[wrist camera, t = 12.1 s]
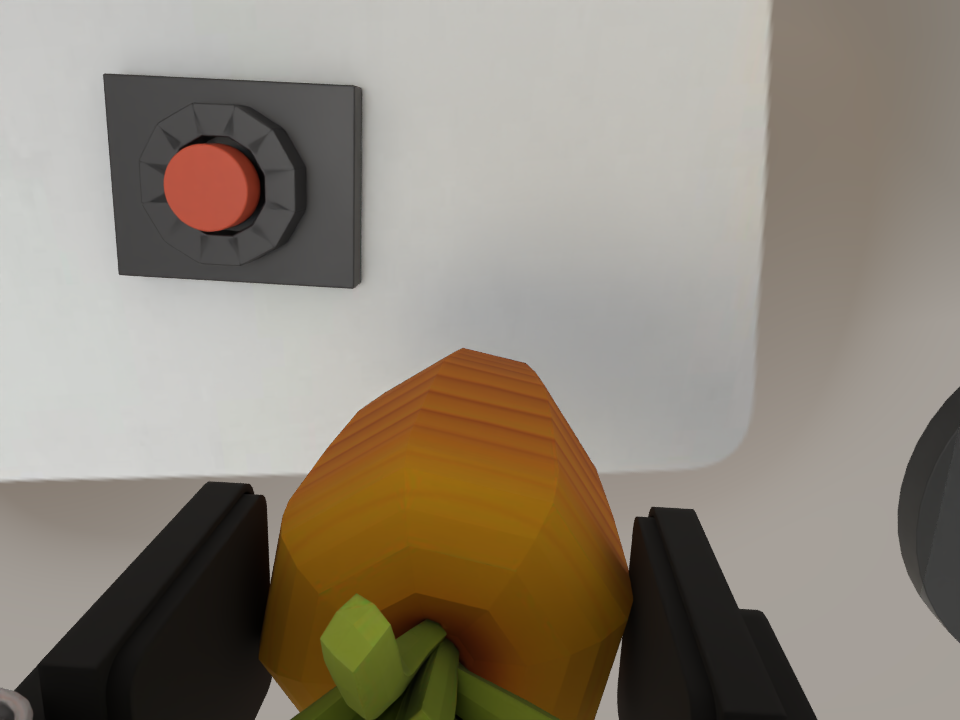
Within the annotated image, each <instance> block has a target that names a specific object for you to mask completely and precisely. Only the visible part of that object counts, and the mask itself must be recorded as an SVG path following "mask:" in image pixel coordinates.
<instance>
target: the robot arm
mask: <svg viewBox="0 0 960 720" xmlns="http://www.w3.org/2000/svg"><path fill="white" fill-rule="evenodd" d="M629 577H630V581H631V587H632V594H633V603H632V607H631V610H630V614H629V617H628V621H627V624H626V627H625V630H624V633H623V636H622V647H621V657H620V667H619V678H618V690H617V691H618V692H617V704H618V716H619V720H817V718H816V716H815V714H814V712H813V710H812V708H811V706H810V704H809V702H808V700H807V698H806V696H805V694H804V692H803V690H802V688H801V686H800V684H799V682H798V680H797V678H796V676H795V674H794V672H793V670H792V668H791V666H790V664H789V662H788V660H787V658H786V656H785V654H784V652H783V650H782V648H781V646H780V644H779V642H778V640H777V638H776V636H775V634H774V632H773V630H772V628H771V626H770V624H769V621H768V619H767V618H766V616H765V615H764V614H763V612H761V611H758V610H749V609H748V610H747V609H739V608H738V606H737V604H736V601H735V599H734V597H733V595H732V593H731V591H730V588H729V586H728V584H727V582H726V579H725V577H724V575H723V573H722V570H721V568H720V566H719V564H718V562H717V559H716V557H715V555H714V553H713V550H712V548H711V546H710V544H709V541H708V539H707V537H706V535H705V532H704V530H703V528H702V526H701V524H700V521H699V519H698V517H697V515H696V512H695V511H694V510H693V509H679V508H663V507H651V509H650V512H649V516H648V517H636V518H635V520H634V526H633V534H632V545H631V555H630V565H629ZM269 588H270V570H269V546H268V522H267V504H266V499H265V497H264V496H263V495H254V491H253V488H252V487H251V485H250V484H244V483H227V482H207V483H206V484H205V485H204V486H203V487H202V488H201V489H200V490H199V491H198V492H197V494H195V495H194V496H193V498H192V499H191V500H190V501H189V502H188V503H187V504H186V505H185V506H184V507H183V508H182V509H181V511H180V512H179V513H178V514H177V515H176V516H175V517H174V518H173V519H172V520H171V521H170V522H169V523H168V525H167V526H166V527H165V528H164V529H163V530H162V531H161V532H160V533H159V534H158V535H157V536H156V538H155V539H154V540H153V541H152V542H151V543H150V544H149V545H148V546H147V547H146V548H145V549H144V551H143V552H142V553H141V554H140V555H139V556H138V557H137V558H136V559H135V560H134V561H133V562H132V563H131V564H130V566H129V567H128V568H127V569H126V570H125V571H124V572H123V573H122V574H121V575H120V577H118V579H117V580H116V581H115V582H114V583H113V584H112V585H111V586H110V587H109V588H108V589H107V590H106V592H105V593H104V594H103V595H102V596H101V597H100V598H99V599H98V600H97V601H96V602H95V603H94V604H93V605H92V607H91V608H90V609H89V610H88V611H87V612H86V613H85V614H84V615H83V616H82V618H80V620H79V621H78V622H77V623H76V624H75V625H74V626H73V627H72V628H71V629H70V630H69V631H68V632H67V634H66V635H65V636H64V637H63V638H62V639H61V640H60V641H59V642H58V643H57V644H56V645H55V647H54V648H53V649H52V650H51V651H50V652H49V653H48V654H47V655H46V656H45V657H44V658H43V659H42V661H41V662H40V663H39V664H38V665H37V667H36V668H35V669H34V670H33V671H32V672H31V673H30V674H29V675H28V676H27V677H26V678H25V679H24V681H23V682H22V683H21V684H20V685H19V686H18V687H17V688H16V689H15V690H14V691H12V690H8V689H3V688H0V720H255V718H256V716H257V713H258V711H259V709H260V707H261V705H262V702H263V701H264V698H265V696H266V694H267V692H268V689H269V686H270V683H271V679H272V676H271V674H270V673H269V672H268V670H267V669H266V668H265V666H264V665H263V664H262V663H261V661H260V660H259V645H260V637H261V632H262V626H263V621H264V615H265V610H266V604H267V599H268V594H269Z"/></svg>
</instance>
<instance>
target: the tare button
mask: <svg viewBox="0 0 960 720" xmlns="http://www.w3.org/2000/svg"><path fill="white" fill-rule="evenodd" d="M260 191H261V187H260V180H259V176H258V173H257V171H256V169H255V167H254V165H253V164H252V162H251V161H250V160H249V159H248V157H247V156H246V155H244V154H243V153H242V152H241V151H239V150H238V149H236V148H234V147H232V146H229V145H225V144H219V143H213V144H194V145H190V146H187V147H185V148H183V149H182V150H180V151H179V152H177V153H176V154H175V155H174V156H173V158H172V159H171V160H170V162H169V164H168V166H167V168H166V171H165V175H164V192H165V196H166V199H167V202H168V204H169V206H170V208H171V209H172V211H173V212H174V214H175V215H176V216H177V217H178V218H179V219H180V220H181V221H182V222H184V223H185V224H187V225H188V226H190V227H192V228H194V229H197V230H201V231H207V232H214V231H220V230H223V229H227V228H230V227H233V226H236V225H239V224H241V223H243V222H244V221H246V220H247V219H248V218H249V217H250V216H251V215H252V214H253V212H254V211H255V209H256V207H257V205H258V202H259V199H260Z"/></svg>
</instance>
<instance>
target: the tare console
mask: <svg viewBox="0 0 960 720" xmlns="http://www.w3.org/2000/svg"><path fill="white" fill-rule="evenodd" d="M103 79H104V92H105V104H106V117H107V130H108V142H109V155H110V168H111V181H112V193H113V206H114V219H115V232H116V244H117V257H118V270H119V275H127V276H144V277H162V278H179V279H196V280H213V281H230V282H247V283H265V284H282V285H299V286H316V287H333V288H350V289H353V288H355V287H356V286H357V285H358V284H359V283H360V282H361V131H362V89H361V88H360V87H357V86H354V85H333V84H312V83H291V82H270V81H250V80H229V79H208V78H187V77H166V76H145V75H124V74H103ZM213 143H219V144H225V145H229V146H232V147H234V148H236V149H238V150H239V151H241V152H242V153H243V154H244V155H246V156H247V157H248V159H249V160H250V161H251V162H252V164H253V165H254V167H255V169H256V171H257V173H258V176H259V180H260V187H261V191H260V199H259V202H258V205H257V207H256V209H255V211H254V212H253V214H252V215H251V216H250V217H249V218H248V219H247V220H246V221H244V222H243V223H241V224H239V225H236V226H233V227H230V228H227V229H223V230H220V231H214V232H207V231H201V230H197V229H194V228H192V227H190V226H188V225H187V224H185V223H184V222H182V221H181V220H180V219H179V218H178V217H177V216H176V215H175V214H174V212H173V211H172V209H171V208H170V206H169V204H168V202H167V199H166V196H165V192H164V175H165V171H166V168H167V166H168V164H169V162H170V160H171V159H172V158H173V156H174V155H175V154H176V153H177V152H179V151H180V150H182V149H183V148H185V147H187V146H190V145H194V144H213Z"/></svg>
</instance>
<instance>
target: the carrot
mask: <svg viewBox="0 0 960 720" xmlns="http://www.w3.org/2000/svg"><path fill="white" fill-rule="evenodd" d="M632 603H633V594H632V587H631V581H630V577H629V570H628V566H627V563H626V559H625V556H624V552H623V549H622V546H621V542H620V539H619V535H618V532H617V528H616V525H615V521H614V518H613V515H612V512H611V509H610V506H609V504H608V501H607V498H606V495H605V493H604V490H603V487H602V484H601V481H600V479H599V476H598V473H597V470H596V468H595V466H594V465H593V463H592V461H591V460H590V458H589V457H588V455H587V453H586V452H585V450H584V448H583V447H582V445H581V444H580V442H579V440H578V439H577V437H576V436H575V434H574V432H573V431H572V429H571V427H570V426H569V424H568V423H567V421H566V419H565V418H564V416H563V414H562V413H561V411H560V410H559V408H558V406H557V405H556V403H555V402H554V400H553V398H552V397H551V395H550V393H549V392H548V390H547V389H546V387H545V385H544V384H543V383H542V381H541V380H540V378H539V377H538V375H537V374H536V372H535V371H534V370H532V369H531V368H530V367H529V366H528V365H527V364H526V363H523V362H518V361H514V360H510V359H506V358H502V357H498V356H494V355H490V354H486V353H482V352H478V351H473V350H469V349H465V348H462V349H460V350H458V351H456V352H454V353H452V354H450V355H449V356H447V357H445V358H443V359H442V360H440V361H438V362H437V363H435V364H433V365H431V366H430V367H428V368H426V369H425V370H423V371H421V372H419V373H418V374H416V375H414V376H413V377H411V378H409V379H408V380H406V381H404V382H402V383H401V384H399V385H397V386H396V387H394V388H392V389H390V390H389V391H387V392H385V393H384V394H382V395H381V396H380V397H378V398H377V399H375V400H374V401H372V402H371V403H369V404H368V405H367V406H365V407H364V408H362V409H361V410H359V411H358V412H357V414H356V415H355V416H354V417H353V418H352V419H351V421H350V422H349V423H348V424H347V425H346V427H345V428H344V429H343V430H342V431H341V433H340V434H339V435H338V436H337V437H336V438H335V440H334V441H333V442H332V443H331V444H330V446H329V447H328V448H327V449H326V451H325V452H324V453H323V455H322V456H321V457H320V459H319V460H318V462H317V463H316V464H315V466H314V467H313V468H312V470H311V471H310V472H309V474H308V475H307V477H306V478H305V479H304V481H303V482H302V483H301V485H300V486H299V488H298V489H297V490H296V492H295V493H294V494H293V496H292V497H291V499H290V500H289V502H288V504H287V507H286V509H285V512H284V514H283V518H282V523H281V528H280V534H279V539H278V544H277V550H276V555H275V562H274V566H273V572H272V577H271V583H270V588H269V594H268V599H267V604H266V610H265V615H264V621H263V626H262V632H261V637H260V645H259V660H260V661H261V663H262V664H263V665H264V666H265V668H266V669H267V670H268V672H269V673H270V674H271V676H272V677H273V678H274V679H275V681H276V682H277V683H278V685H279V686H280V687H281V688H282V690H283V691H284V692H285V694H286V695H287V696H288V698H289V699H290V700H291V701H292V703H293V704H294V705H295V706H296V708H297V709H298V710H299V712H300V713H299V714H297V715H296V716H295V717H293V718H292V719H291V720H594V719H595V716H596V713H597V710H598V707H599V704H600V701H601V698H602V695H603V692H604V689H605V686H606V683H607V680H608V677H609V674H610V671H611V668H612V665H613V662H614V659H615V656H616V653H617V650H618V647H619V644H620V641H621V638H622V636H623V633H624V630H625V627H626V624H627V621H628V617H629V614H630V610H631V607H632Z"/></svg>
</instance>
